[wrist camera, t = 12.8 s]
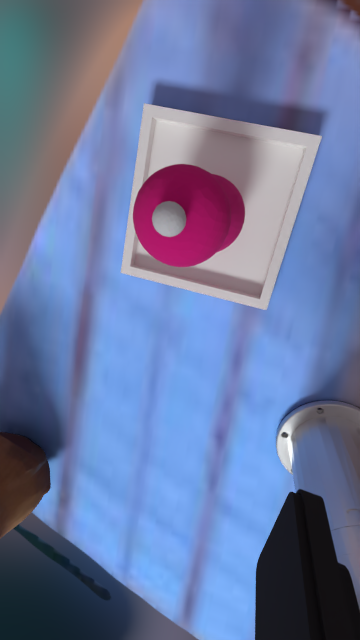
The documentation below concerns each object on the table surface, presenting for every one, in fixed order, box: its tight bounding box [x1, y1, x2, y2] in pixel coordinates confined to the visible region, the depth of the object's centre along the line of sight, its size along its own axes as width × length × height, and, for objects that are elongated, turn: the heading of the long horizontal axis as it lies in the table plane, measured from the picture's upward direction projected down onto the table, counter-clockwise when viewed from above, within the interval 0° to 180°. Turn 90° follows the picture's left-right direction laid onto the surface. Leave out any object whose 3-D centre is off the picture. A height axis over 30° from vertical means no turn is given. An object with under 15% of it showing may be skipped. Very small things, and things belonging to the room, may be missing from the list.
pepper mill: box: [133, 164, 245, 267], centre depth 25 cm, size 7×7×20 cm
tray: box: [121, 104, 322, 310], centre depth 34 cm, size 17×17×2 cm
